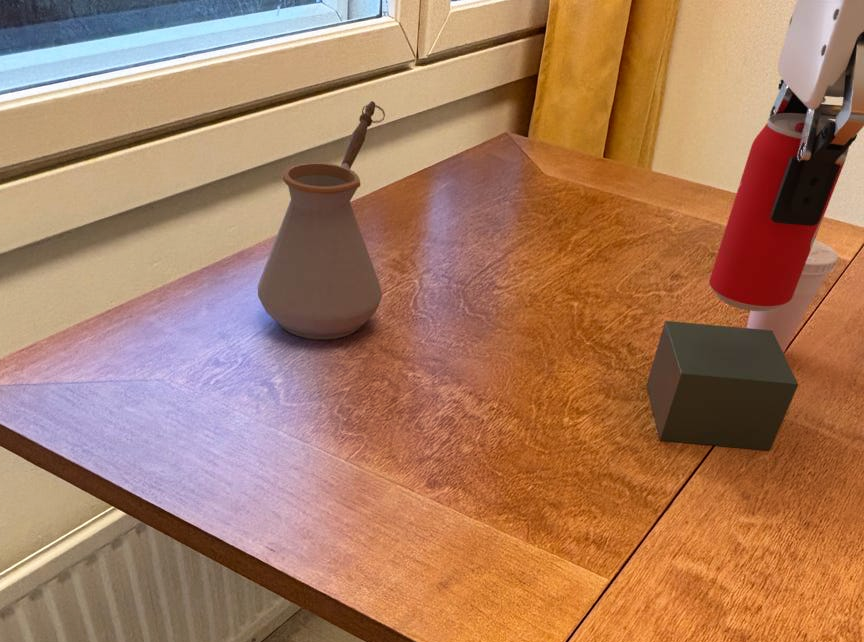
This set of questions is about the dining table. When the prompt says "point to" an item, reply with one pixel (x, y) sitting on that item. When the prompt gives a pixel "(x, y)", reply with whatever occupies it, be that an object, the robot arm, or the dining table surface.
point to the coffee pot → (322, 251)
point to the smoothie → (797, 296)
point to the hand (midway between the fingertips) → (781, 201)
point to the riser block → (719, 385)
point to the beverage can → (764, 225)
